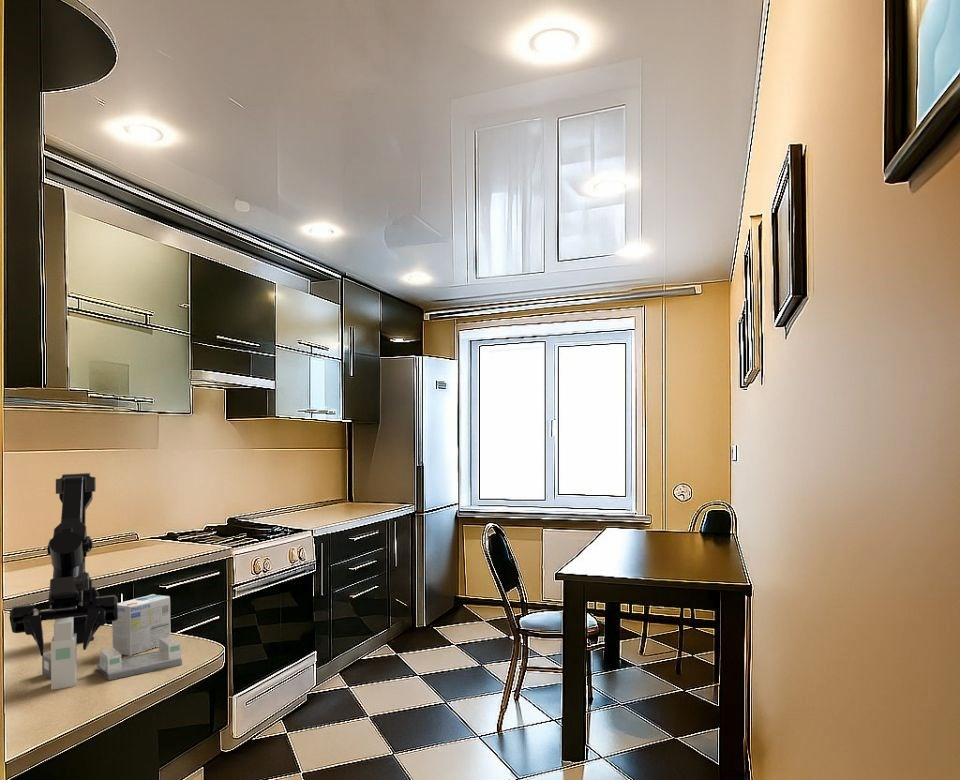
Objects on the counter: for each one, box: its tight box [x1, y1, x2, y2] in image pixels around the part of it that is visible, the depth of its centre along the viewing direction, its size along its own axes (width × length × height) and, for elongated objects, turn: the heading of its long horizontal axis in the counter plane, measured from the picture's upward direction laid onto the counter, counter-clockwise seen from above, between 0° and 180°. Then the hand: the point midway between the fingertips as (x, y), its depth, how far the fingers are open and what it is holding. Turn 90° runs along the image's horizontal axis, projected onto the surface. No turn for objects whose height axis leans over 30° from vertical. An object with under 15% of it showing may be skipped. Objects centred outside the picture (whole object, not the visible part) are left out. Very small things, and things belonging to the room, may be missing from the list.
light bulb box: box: [111, 593, 172, 657], centre depth 168 cm, size 11×7×11 cm, turn 149°
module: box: [50, 617, 78, 691], centre depth 145 cm, size 5×4×12 cm
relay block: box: [41, 652, 51, 680], centre depth 151 cm, size 5×4×4 cm
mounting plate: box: [96, 635, 183, 681], centre depth 155 cm, size 10×14×4 cm
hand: (63, 651), depth 144 cm, fingers open, 7 cm apart
